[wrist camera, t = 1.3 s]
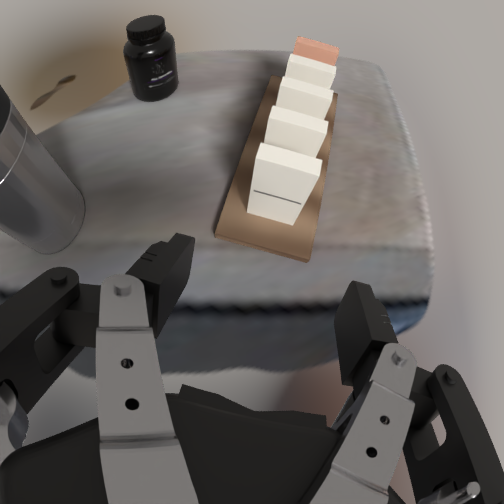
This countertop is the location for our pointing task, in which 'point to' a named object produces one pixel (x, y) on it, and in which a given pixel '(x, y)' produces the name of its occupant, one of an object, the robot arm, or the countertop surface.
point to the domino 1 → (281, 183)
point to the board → (235, 208)
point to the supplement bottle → (151, 58)
